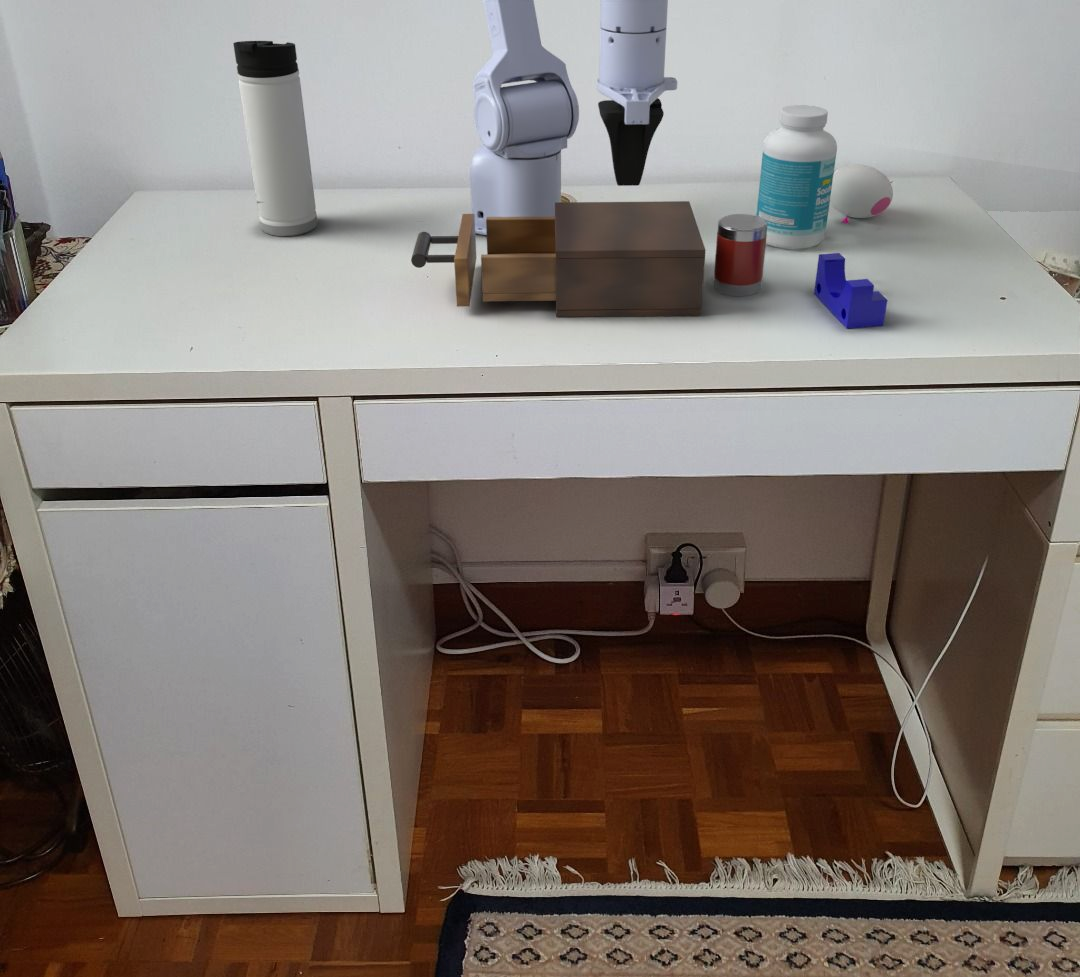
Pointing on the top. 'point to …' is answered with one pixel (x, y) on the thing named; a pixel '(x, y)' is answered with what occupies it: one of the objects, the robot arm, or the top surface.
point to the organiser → (628, 259)
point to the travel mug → (276, 136)
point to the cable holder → (848, 294)
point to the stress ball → (860, 191)
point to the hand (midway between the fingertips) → (627, 183)
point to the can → (740, 254)
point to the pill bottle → (797, 178)
